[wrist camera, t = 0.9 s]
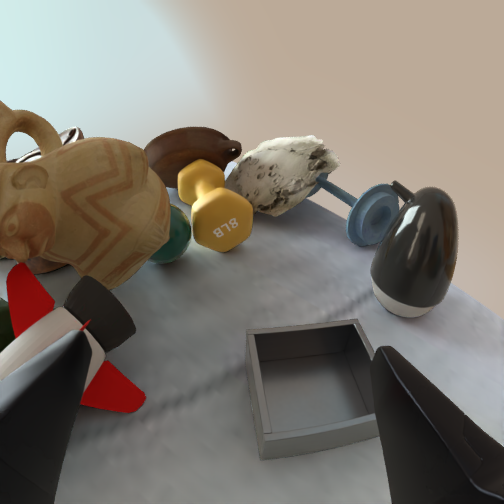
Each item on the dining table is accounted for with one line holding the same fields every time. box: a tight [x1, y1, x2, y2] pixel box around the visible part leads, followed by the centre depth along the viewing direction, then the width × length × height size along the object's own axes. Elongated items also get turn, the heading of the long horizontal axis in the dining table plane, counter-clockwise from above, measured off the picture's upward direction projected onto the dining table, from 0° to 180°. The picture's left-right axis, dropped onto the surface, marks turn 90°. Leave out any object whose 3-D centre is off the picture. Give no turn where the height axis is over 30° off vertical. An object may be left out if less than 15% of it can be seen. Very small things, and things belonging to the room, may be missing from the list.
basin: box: [245, 319, 380, 460], centre depth 23 cm, size 10×10×4 cm
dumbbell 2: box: [305, 173, 399, 246], centre depth 51 cm, size 23×11×10 cm, turn 24°
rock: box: [225, 135, 340, 217], centre depth 54 cm, size 25×4×20 cm
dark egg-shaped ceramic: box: [370, 181, 458, 317], centre depth 31 cm, size 10×10×15 cm
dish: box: [144, 127, 242, 188], centre depth 57 cm, size 18×22×5 cm
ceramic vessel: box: [0, 101, 171, 290], centre depth 25 cm, size 17×20×25 cm
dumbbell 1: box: [178, 159, 253, 252], centre depth 47 cm, size 19×9×8 cm, turn 20°
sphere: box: [148, 204, 191, 264], centre depth 39 cm, size 8×8×8 cm
